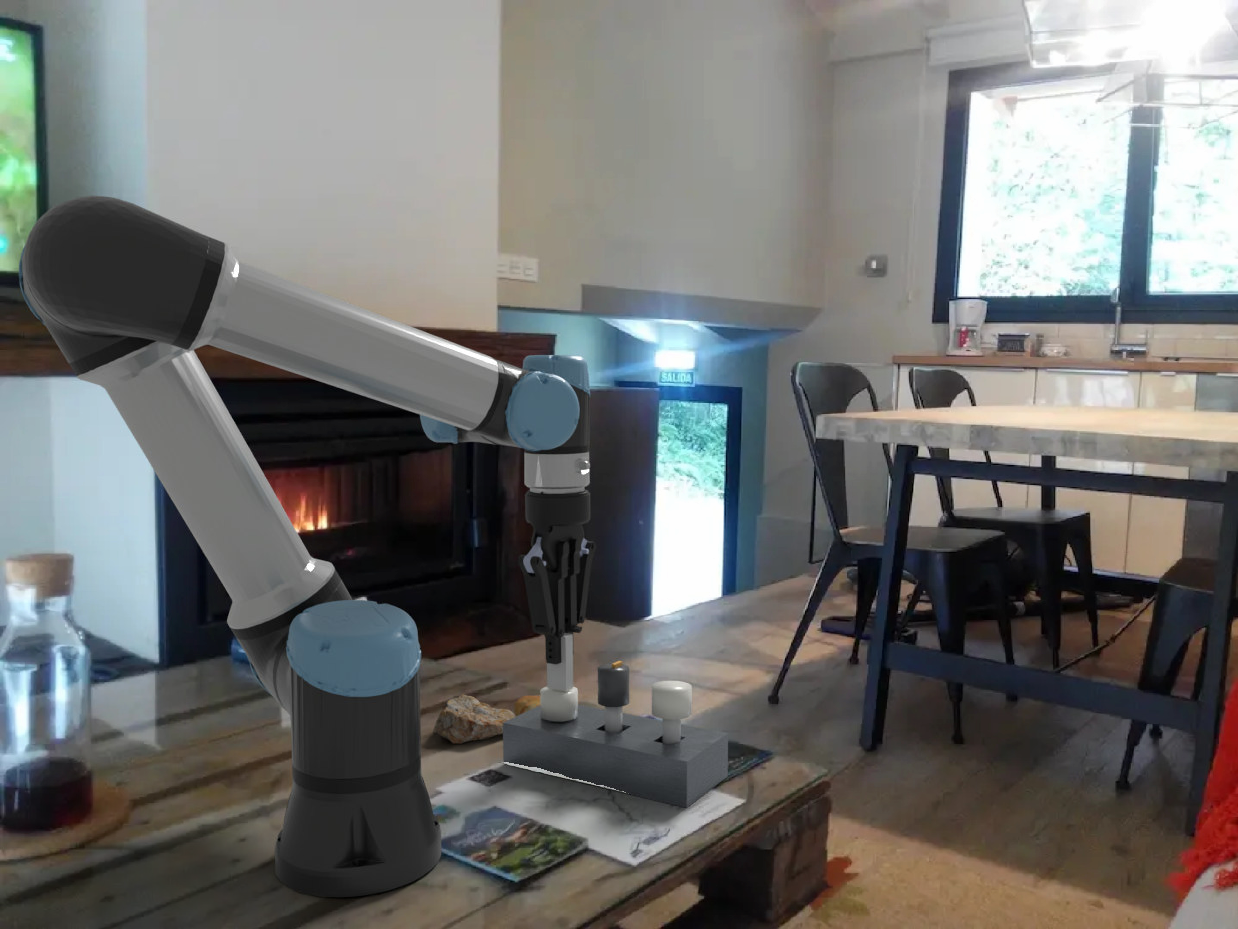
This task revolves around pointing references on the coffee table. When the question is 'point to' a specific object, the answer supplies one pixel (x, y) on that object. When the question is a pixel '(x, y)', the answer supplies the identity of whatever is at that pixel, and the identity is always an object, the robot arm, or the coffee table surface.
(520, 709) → the pastry
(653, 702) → the plunger near
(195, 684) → the coffee table surface
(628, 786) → the panel
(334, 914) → the coffee table surface
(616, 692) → the pot knob
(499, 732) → the rock
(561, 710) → the plunger far
